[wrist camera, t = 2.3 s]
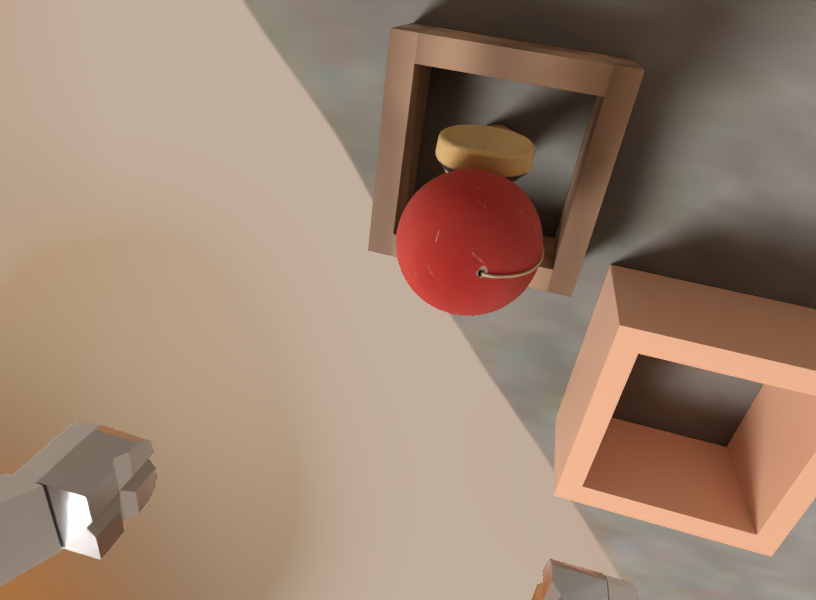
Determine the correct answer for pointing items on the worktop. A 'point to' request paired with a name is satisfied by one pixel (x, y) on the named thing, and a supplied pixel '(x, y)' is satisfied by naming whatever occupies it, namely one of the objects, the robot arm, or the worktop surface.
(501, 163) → the kendama
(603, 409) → the stand
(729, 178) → the worktop surface
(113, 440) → the robot arm
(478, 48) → the block
